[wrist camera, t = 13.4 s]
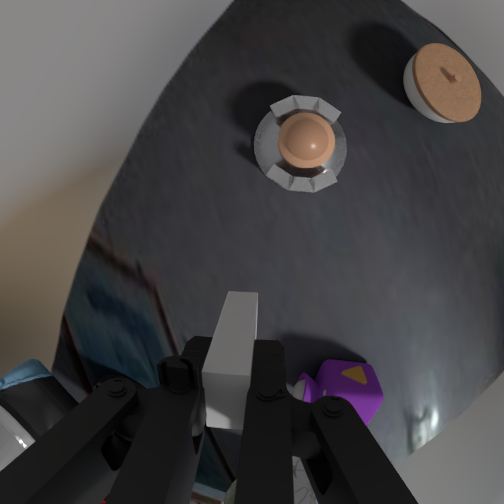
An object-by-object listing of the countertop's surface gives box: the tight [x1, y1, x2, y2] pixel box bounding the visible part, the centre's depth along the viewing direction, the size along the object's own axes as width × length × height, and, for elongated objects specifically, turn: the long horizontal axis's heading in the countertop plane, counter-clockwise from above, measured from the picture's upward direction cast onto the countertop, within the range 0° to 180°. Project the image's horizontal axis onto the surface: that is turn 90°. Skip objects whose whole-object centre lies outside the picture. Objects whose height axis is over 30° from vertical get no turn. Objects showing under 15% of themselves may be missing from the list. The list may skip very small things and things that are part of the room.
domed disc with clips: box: [254, 95, 347, 192], centre depth 33 cm, size 12×12×5 cm
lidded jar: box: [403, 43, 481, 123], centre depth 27 cm, size 11×11×9 cm
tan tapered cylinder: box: [278, 113, 335, 168], centre depth 32 cm, size 6×6×8 cm
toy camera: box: [292, 359, 384, 426], centre depth 41 cm, size 11×14×10 cm
